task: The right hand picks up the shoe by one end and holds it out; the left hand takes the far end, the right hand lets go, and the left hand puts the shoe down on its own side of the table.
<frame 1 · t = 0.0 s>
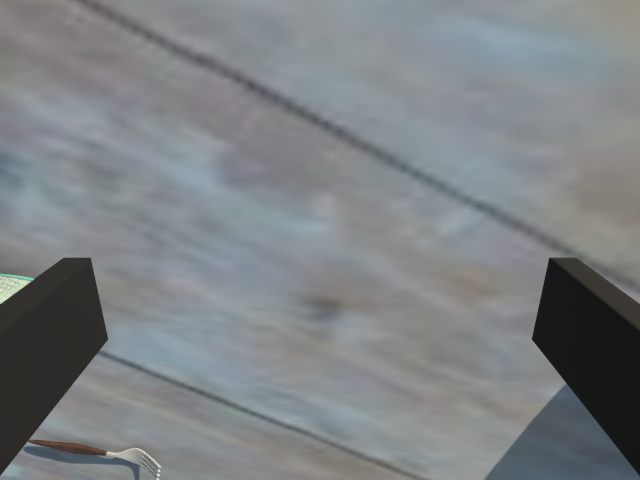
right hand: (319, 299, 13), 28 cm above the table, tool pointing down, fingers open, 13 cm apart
fork: (99, 447, 52), on the table
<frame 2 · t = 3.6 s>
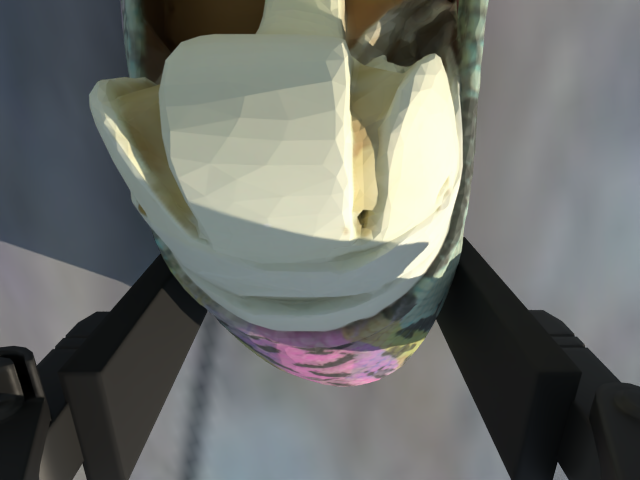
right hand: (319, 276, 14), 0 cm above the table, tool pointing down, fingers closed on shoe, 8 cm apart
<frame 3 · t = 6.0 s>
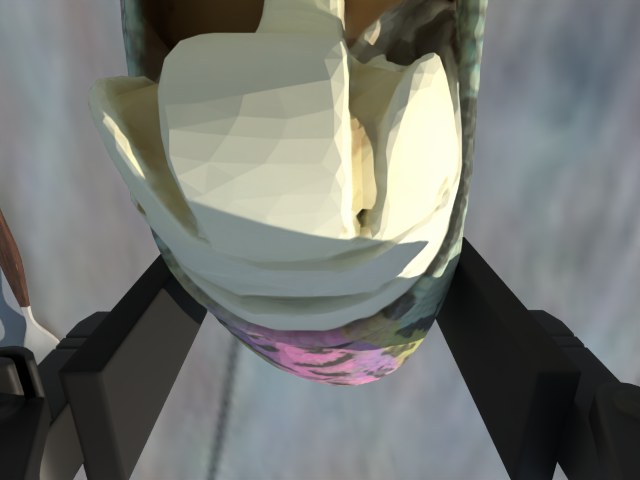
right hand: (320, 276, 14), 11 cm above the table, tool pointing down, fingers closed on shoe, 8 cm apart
fork: (26, 284, 27), on the table
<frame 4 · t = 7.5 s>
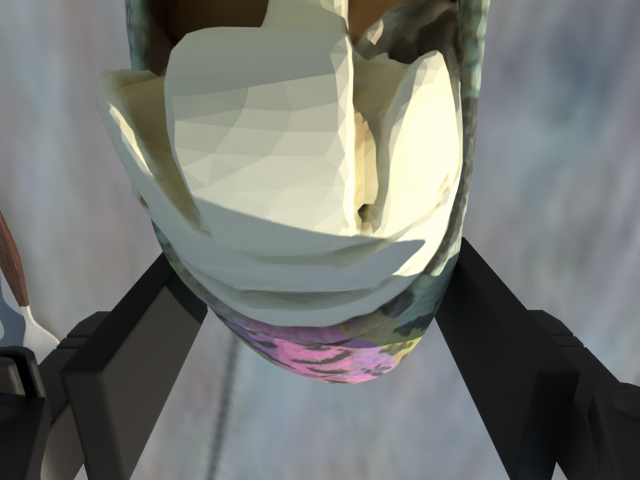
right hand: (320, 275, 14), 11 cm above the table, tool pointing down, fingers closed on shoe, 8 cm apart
fork: (26, 284, 27), on the table
when the right hand's fingers open (11 cm above the table, at t = 8.5 s): shoe stays where it is, held by the left hand.
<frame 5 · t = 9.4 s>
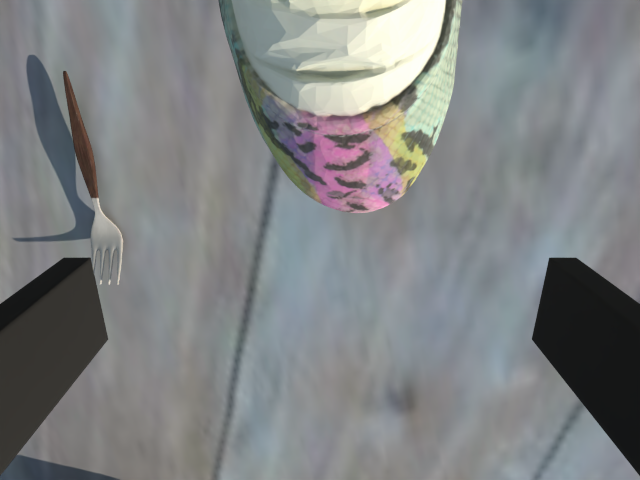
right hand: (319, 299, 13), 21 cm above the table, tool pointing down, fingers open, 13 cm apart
fork: (95, 181, 33), on the table
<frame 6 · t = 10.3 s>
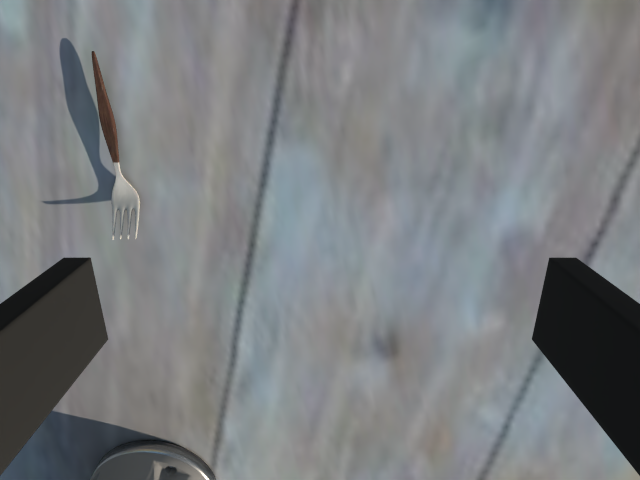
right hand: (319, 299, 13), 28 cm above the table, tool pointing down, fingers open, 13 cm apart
fork: (116, 148, 38), on the table
when the left hand's fingers open (4 cm above the table, at t = 13.4 s): shoe drops 2 cm, on the table.
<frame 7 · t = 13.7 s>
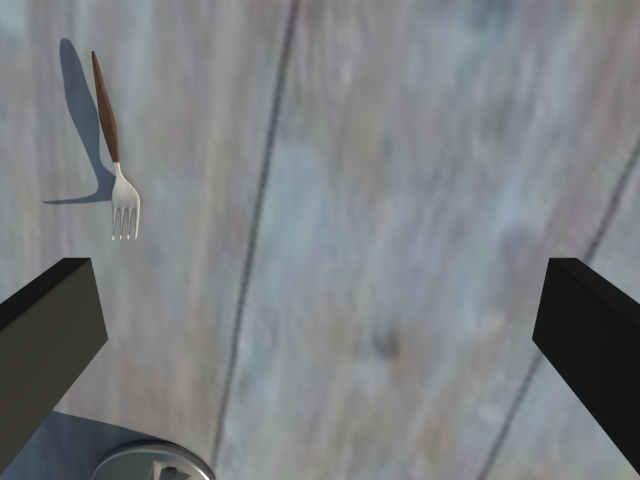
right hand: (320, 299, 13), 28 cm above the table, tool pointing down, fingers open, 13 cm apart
fork: (116, 148, 38), on the table
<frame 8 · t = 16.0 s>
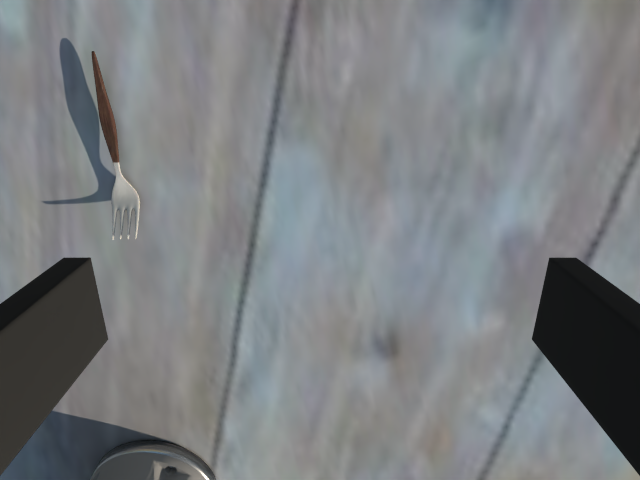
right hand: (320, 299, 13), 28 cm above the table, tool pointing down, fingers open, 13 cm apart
fork: (116, 148, 38), on the table
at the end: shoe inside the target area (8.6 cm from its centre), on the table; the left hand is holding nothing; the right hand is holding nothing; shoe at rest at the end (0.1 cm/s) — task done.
